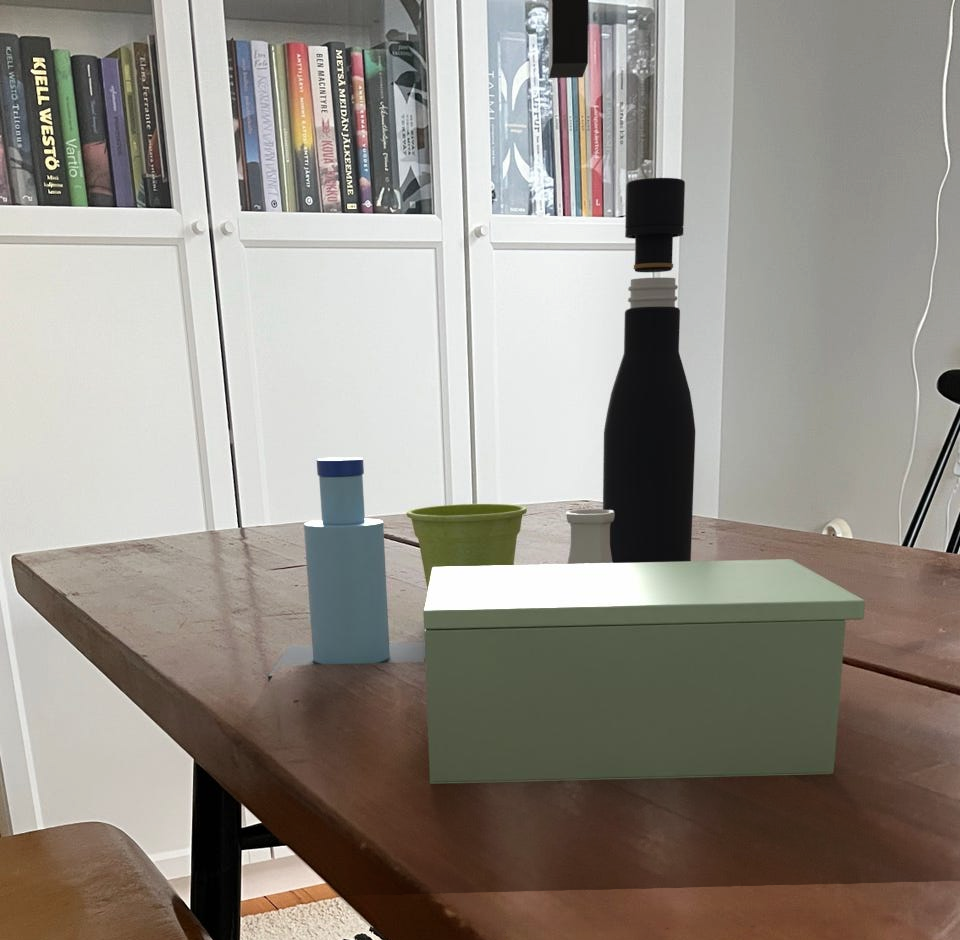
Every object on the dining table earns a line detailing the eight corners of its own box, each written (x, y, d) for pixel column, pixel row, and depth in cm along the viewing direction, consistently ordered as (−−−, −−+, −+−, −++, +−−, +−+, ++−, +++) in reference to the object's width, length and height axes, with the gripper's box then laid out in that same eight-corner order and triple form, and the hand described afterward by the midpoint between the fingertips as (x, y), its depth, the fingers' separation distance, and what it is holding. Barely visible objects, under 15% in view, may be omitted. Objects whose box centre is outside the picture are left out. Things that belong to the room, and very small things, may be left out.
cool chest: (767, 715, 71) (775, 575, 68) (832, 789, 58) (846, 620, 55) (437, 723, 71) (432, 583, 68) (430, 799, 58) (423, 630, 56)
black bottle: (583, 635, 94) (586, 184, 83) (640, 624, 98) (650, 191, 87) (648, 647, 89) (660, 171, 79) (705, 634, 93) (724, 179, 83)
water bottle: (391, 649, 88) (382, 455, 84) (387, 665, 84) (377, 460, 79) (317, 651, 88) (304, 457, 84) (309, 667, 84) (294, 462, 79)
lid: (790, 574, 68) (791, 558, 68) (864, 619, 55) (865, 600, 55) (432, 582, 68) (431, 566, 68) (423, 629, 55) (423, 610, 55)
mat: (427, 648, 91) (427, 642, 91) (423, 679, 81) (422, 672, 81) (289, 652, 91) (288, 645, 91) (268, 683, 81) (267, 676, 81)
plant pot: (409, 633, 97) (405, 516, 94) (412, 611, 105) (407, 504, 102) (531, 629, 97) (530, 513, 94) (523, 608, 106) (522, 501, 103)
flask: (554, 652, 89) (554, 505, 85) (655, 657, 86) (659, 506, 83) (519, 674, 82) (518, 516, 79) (627, 680, 80) (630, 518, 76)
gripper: (382, -766, 42) (411, 53, 50) (772, -776, 42) (737, 45, 50) (394, -603, 49) (418, 93, 57) (728, -611, 49) (704, 86, 57)
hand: (567, 70), depth 54 cm, fingers closed
